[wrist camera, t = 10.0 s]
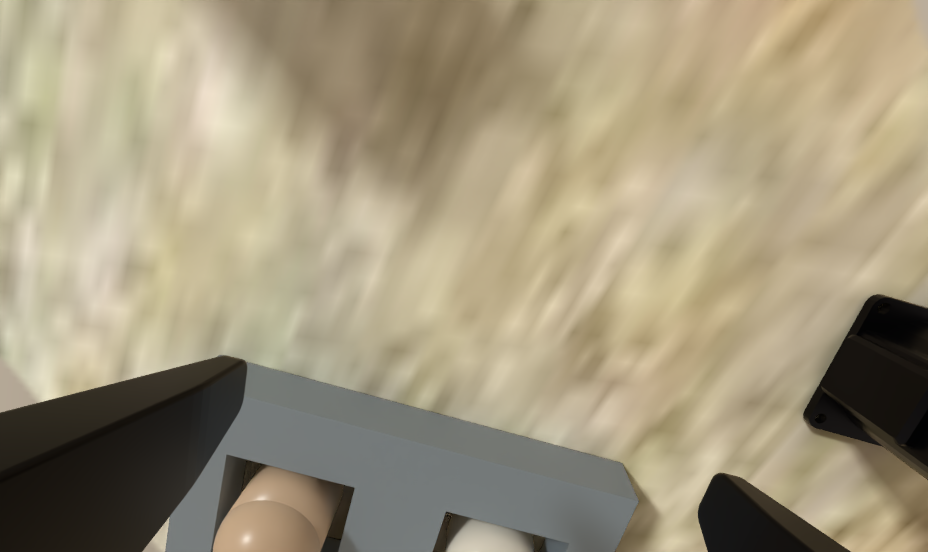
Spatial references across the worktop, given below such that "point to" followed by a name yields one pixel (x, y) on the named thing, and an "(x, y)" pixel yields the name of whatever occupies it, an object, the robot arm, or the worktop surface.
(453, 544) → the egg
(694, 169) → the worktop surface
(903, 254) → the worktop surface
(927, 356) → the robot arm
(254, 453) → the egg carton
